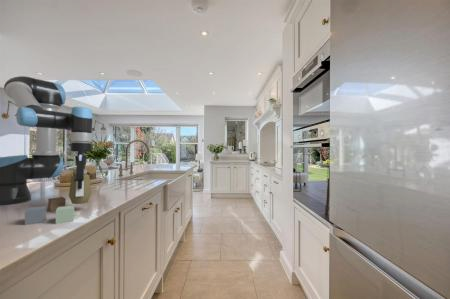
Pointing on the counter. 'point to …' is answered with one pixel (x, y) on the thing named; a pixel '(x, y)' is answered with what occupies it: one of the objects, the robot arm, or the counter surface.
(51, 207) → the walnut cube
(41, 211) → the blue-grey cube
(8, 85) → the robot arm
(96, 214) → the counter surface
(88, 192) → the squeeze bottle
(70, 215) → the sage cube
